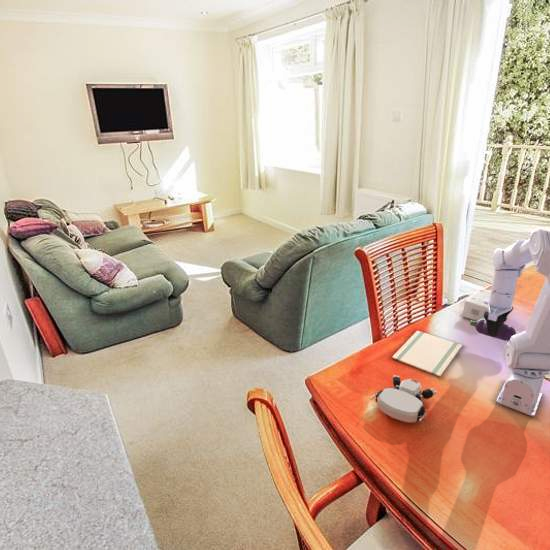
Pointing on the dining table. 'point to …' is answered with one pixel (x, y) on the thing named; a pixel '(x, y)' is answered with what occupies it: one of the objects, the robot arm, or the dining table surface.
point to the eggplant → (503, 333)
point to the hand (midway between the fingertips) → (494, 331)
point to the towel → (427, 352)
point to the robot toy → (403, 400)
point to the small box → (476, 305)
